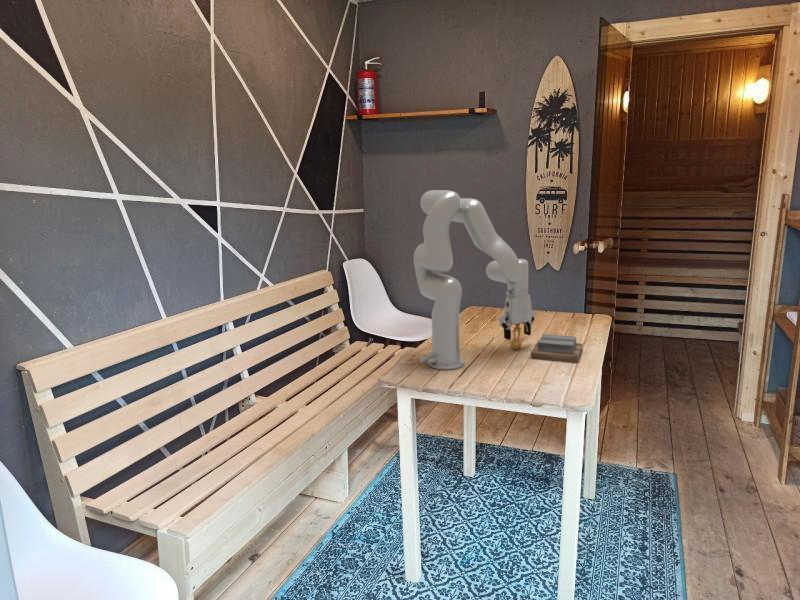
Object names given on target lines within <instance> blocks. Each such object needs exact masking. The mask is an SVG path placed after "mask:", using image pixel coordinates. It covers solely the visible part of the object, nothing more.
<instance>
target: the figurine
mask: <svg viewBox="0 0 800 600" xmlns="http://www.w3.org/2000/svg"><path fill="white" fill-rule="evenodd" d="M522 324H523V325H524V324H525V326H526V328H527V325H526V323H525V322H524V323H522ZM520 325H521V323H520V324H514V326H513V331H512V333H513V340H511V341H510V348H511V349H512V350H514V351H518V350H520V349H521V347H522V342H521V341H520V333H521V329H522V327H520ZM527 332H528V328H527ZM516 333H517V338H516Z"/></svg>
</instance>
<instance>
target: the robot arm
mask: <svg viewBox="0 0 800 600" xmlns="http://www.w3.org/2000/svg"><path fill="white" fill-rule="evenodd" d="M419 201H420V202H419V203H420V205H419V206H420V208H421V210H422V212H423V213H424V214H426V215H427V216H426V218H425V219H424V222H423V227H422V233H423V235H422V236H423V243H421V244H419V245H417V247H416V248H415V250H414V253H413V267H414V272H415V277H416V281H417V287H418V290H419V292H420V294H421V295H422V296H423V297H424V298H427V299H430V300H432V301H434V304H433V307H432V310H431V351H429V354H427V356H422V357H419V360H420V363H423V364H424V363H427V365H428V366H429V367H430V368H433V369H435V370H446V371H447V370H448V371H449V370H455V369H459V368H461V367H463V366H464V365H465V361H464V359H463V358H461V357H460V307H461V301H462V295H463V287H462V285H461V283H460V281H459V280H458V279H457V278H455V277H454V276H451V275H448V274H445V273H447V272H449V271H450V270H451V269H452V267H453V264H454V258H453V257H454V256H453V251H452V245H451V240H450V225H451V223H452V222H454V223H461V224H463V225H464V227H465V229H466V230H467V233H468V234H469V236H470V238H471V241H472V242H473V244H474V247H475V246H476V248H478V249H479V250H480V251H481V252H483V253H485V254H487V255H488V256H490V257H491V258H492V259H493V260H492V261H490V262H489V263H488V264H487V265H486V267H485V274H486V276H487V278H488V279H490V280H492V281H494V282H499V283H504V284H507V285H506V288H507V291H505V294H506V295H507V296H505V297H506V298H505V302H504V311H503V312H504V313H503V314H502V315H501V316H500V317H499V318H498V319H497V320H498V322H499V325H500V326H501V327H502V328H503V338H504V339H505V340H507V341H512V340H511V339H512V329H511V328H512V326H513V325H515V324H520V325H521V324H523V323H526V325H527V328H528V332H527V328H526V326H525V324H523V334H524V335H527V336H531V335H532V325H533V323H534V322H533V321H534V320H535V317H536V315H537V311H535V310H533V308H532V300H531V299H532V298H531V295H530V294H529V261H528V260H527V259H525V258H518V256H517V255H516V253H515V251H514V250H513V249H512V248H511V247H510V245H509V244H508V243H507V242H506V241H505V240H504V239H503V238H502V237H501V236H499V235H498V234H497V231H496V230H495V228H494V225H493V223H492V221H491V220H490V217H489V215H488V213H487V212H486V209H485V207H484V205H483V204H482V202H481V201H480V200H478V199H475V198H468V197H467V198H466V197H464V198H463V197H460V195H459V193H457V192H456V191H454V190H450V189H449V190H447V189H446V190H445V189H439V190H438V189H437V190H436V189H433V190H432V189H431V190H428V191H426V192H424V194H423V195H422V196H421V197H420V200H419Z"/></svg>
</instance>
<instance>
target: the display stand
mask: <svg viewBox="0 0 800 600" xmlns="http://www.w3.org/2000/svg"><path fill="white" fill-rule="evenodd" d="M582 351H583V343H578V342H577V336H572V335H571V336H569V335H559V334H558V335H557V334H547V333H546V334H545V333H542V336H541V337H540V339H538V340H537V341H536V343H535V345H534V347H533V349H531V351H530V359H531V360H542V361H552V362H560V361H561V362H563V363H572V364H578V363H579V360H580V357H581V353H582Z"/></svg>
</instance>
